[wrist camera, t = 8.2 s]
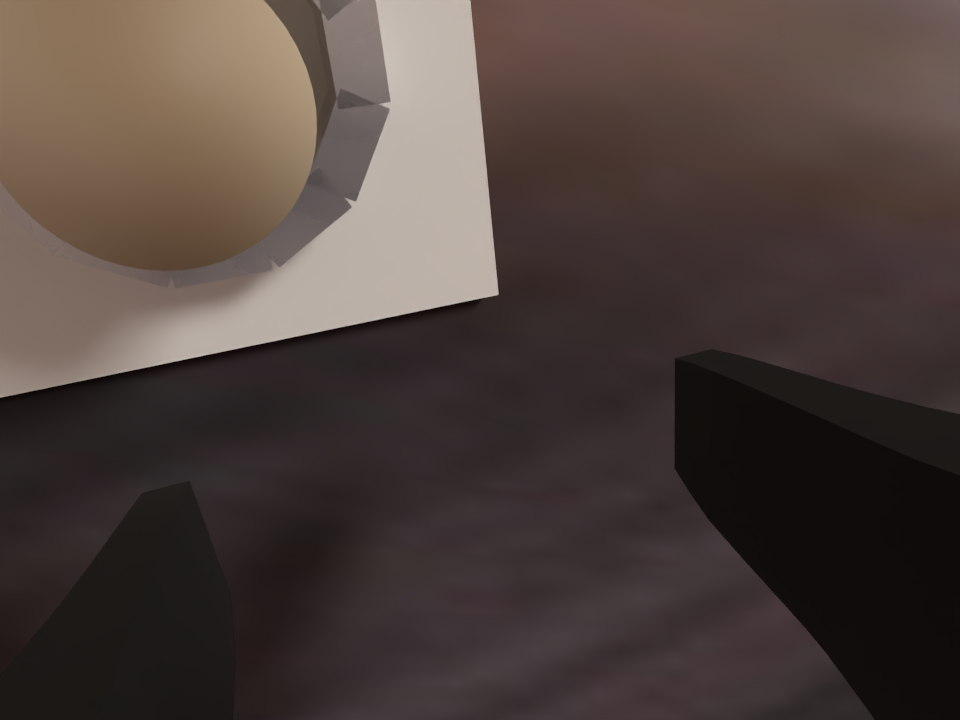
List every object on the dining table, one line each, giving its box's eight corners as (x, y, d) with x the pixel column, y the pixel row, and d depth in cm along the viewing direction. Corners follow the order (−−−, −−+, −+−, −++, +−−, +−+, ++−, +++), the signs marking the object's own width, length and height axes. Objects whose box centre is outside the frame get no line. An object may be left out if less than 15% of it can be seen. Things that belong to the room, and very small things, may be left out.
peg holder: (-28, 392, 17) (-62, 443, 15) (-358, -310, 11) (-481, -373, 9) (491, 286, 19) (519, 318, 17) (429, -332, 14) (461, -385, 12)
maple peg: (108, 196, 15) (50, 301, 10) (23, -26, 13) (-101, -35, 8) (305, 155, 16) (347, 233, 11) (252, -60, 14) (270, -89, 9)
